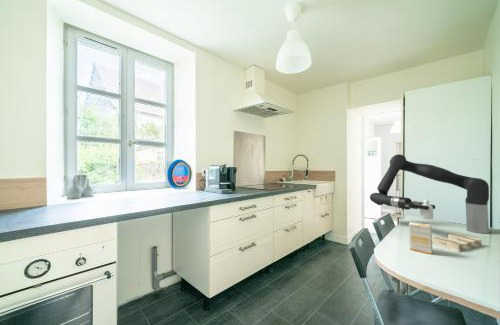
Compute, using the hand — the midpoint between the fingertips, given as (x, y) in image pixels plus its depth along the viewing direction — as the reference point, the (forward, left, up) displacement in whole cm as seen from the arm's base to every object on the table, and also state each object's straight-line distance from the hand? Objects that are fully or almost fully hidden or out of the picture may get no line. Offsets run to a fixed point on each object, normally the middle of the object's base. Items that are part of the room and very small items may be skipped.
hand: (431, 207), depth 116 cm
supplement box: (+25, +8, -18) cm, 32 cm away
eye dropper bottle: (0, -3, -7) cm, 8 cm away
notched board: (0, +10, -17) cm, 20 cm away
